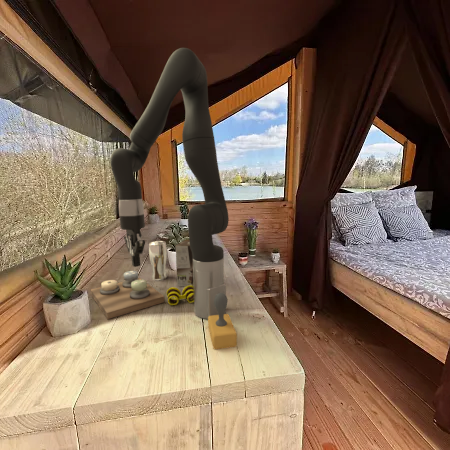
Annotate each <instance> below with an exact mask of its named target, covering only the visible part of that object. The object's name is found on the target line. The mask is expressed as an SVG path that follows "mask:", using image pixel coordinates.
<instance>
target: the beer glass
mask: <svg viewBox="0 0 450 450" xmlns="http://www.w3.org/2000/svg"><path fill="white" fill-rule="evenodd" d="M167 254H168V253H167V243H166V241H164V240H155V241H151V242H149V243H148V255H149V256H148V257H149V262H150V265H151V266H150V267H151V271H152V272H151V280H153V281H154V282H155V281H157V282H158V281H159V282H160V281H164V280H166V279H167V278H168V275H167V271H166V265H167V257H168V256H167Z"/></svg>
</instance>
